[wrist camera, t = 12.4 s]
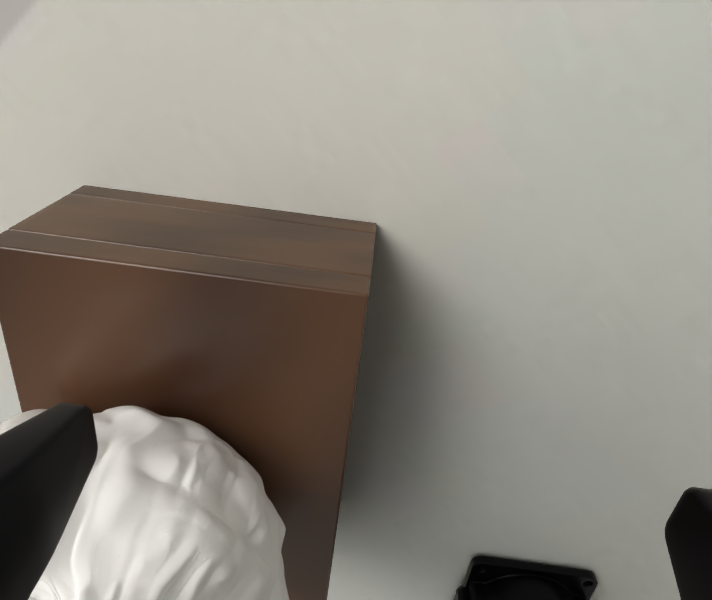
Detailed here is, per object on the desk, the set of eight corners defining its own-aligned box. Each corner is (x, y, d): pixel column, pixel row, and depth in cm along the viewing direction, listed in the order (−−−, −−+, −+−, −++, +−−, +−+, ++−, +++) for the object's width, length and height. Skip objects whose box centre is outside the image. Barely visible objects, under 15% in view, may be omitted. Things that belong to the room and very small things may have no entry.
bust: (318, 509, 23) (491, 705, 12) (186, 673, 21) (260, 1068, 10) (84, 311, 19) (50, 356, 8) (-105, 491, 17) (-448, 833, 6)
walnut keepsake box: (376, 223, 20) (368, 294, 15) (338, 502, 27) (324, 614, 22) (83, 184, 20) (-21, 243, 15) (122, 473, 27) (60, 577, 22)
